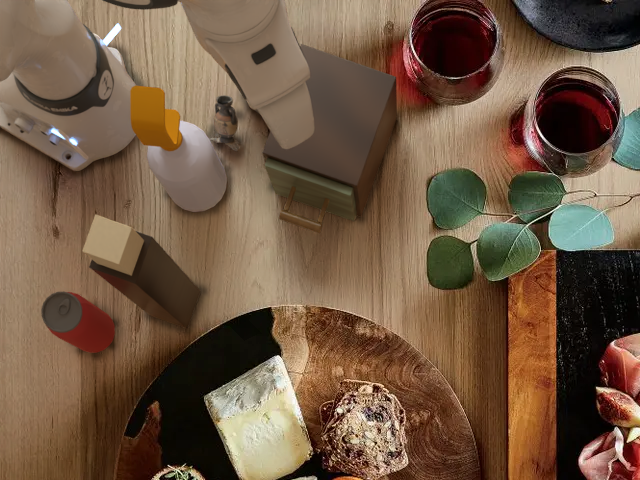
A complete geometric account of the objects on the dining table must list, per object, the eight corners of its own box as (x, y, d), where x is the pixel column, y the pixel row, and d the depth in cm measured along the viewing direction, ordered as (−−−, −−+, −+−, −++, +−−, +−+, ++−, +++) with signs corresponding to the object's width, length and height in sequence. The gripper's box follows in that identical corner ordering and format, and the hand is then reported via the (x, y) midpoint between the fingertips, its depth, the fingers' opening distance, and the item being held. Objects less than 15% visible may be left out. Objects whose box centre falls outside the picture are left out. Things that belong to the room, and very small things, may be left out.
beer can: (123, 320, 122) (93, 299, 110) (105, 361, 122) (73, 344, 110) (84, 302, 122) (49, 279, 110) (65, 342, 123) (29, 323, 111)
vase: (220, 106, 122) (211, 85, 116) (254, 120, 122) (246, 100, 116) (206, 139, 122) (196, 120, 116) (239, 153, 122) (231, 135, 116)
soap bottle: (230, 155, 122) (187, 64, 98) (224, 215, 122) (179, 141, 98) (170, 149, 122) (112, 58, 98) (164, 210, 122) (104, 134, 98)
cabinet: (361, 217, 122) (357, 186, 110) (275, 187, 122) (262, 152, 110) (396, 118, 122) (396, 76, 110) (310, 88, 122) (301, 43, 110)
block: (96, 263, 98) (82, 251, 94) (109, 228, 98) (95, 214, 94) (131, 275, 98) (118, 264, 94) (144, 240, 98) (132, 227, 94)
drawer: (343, 253, 121) (338, 230, 111) (264, 225, 121) (252, 199, 111) (387, 128, 121) (386, 94, 111) (308, 101, 121) (300, 64, 111)
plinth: (149, 315, 122) (88, 267, 98) (163, 277, 122) (105, 220, 98) (187, 329, 122) (135, 283, 98) (201, 291, 122) (152, 236, 98)
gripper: (149, -75, 75) (189, 17, 89) (258, 118, 75) (281, 180, 89) (209, -110, 75) (240, -12, 89) (318, 84, 75) (332, 151, 88)
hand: (261, 85), depth 89 cm, fingers open, 8 cm apart
